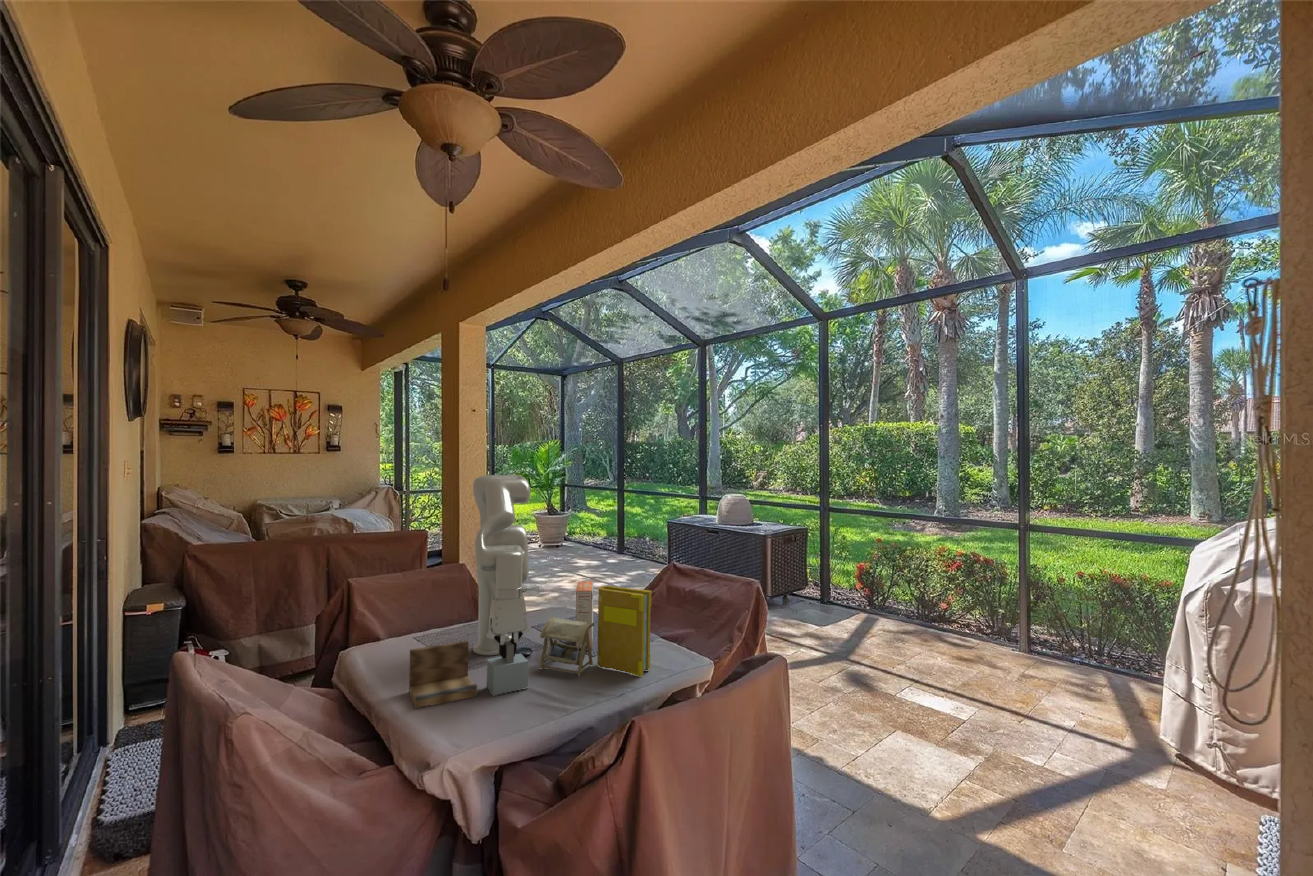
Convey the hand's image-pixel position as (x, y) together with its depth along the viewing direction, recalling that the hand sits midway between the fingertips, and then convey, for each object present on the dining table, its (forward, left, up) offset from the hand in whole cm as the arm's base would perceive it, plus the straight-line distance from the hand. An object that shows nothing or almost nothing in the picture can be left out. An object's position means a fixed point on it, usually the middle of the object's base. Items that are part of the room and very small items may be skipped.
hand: (507, 655), depth 170 cm
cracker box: (-35, -24, -10) cm, 43 cm away
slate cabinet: (0, 0, -9) cm, 9 cm away
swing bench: (-21, -6, -10) cm, 24 cm away
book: (-36, +3, -10) cm, 37 cm away
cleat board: (+17, -4, -9) cm, 20 cm away
